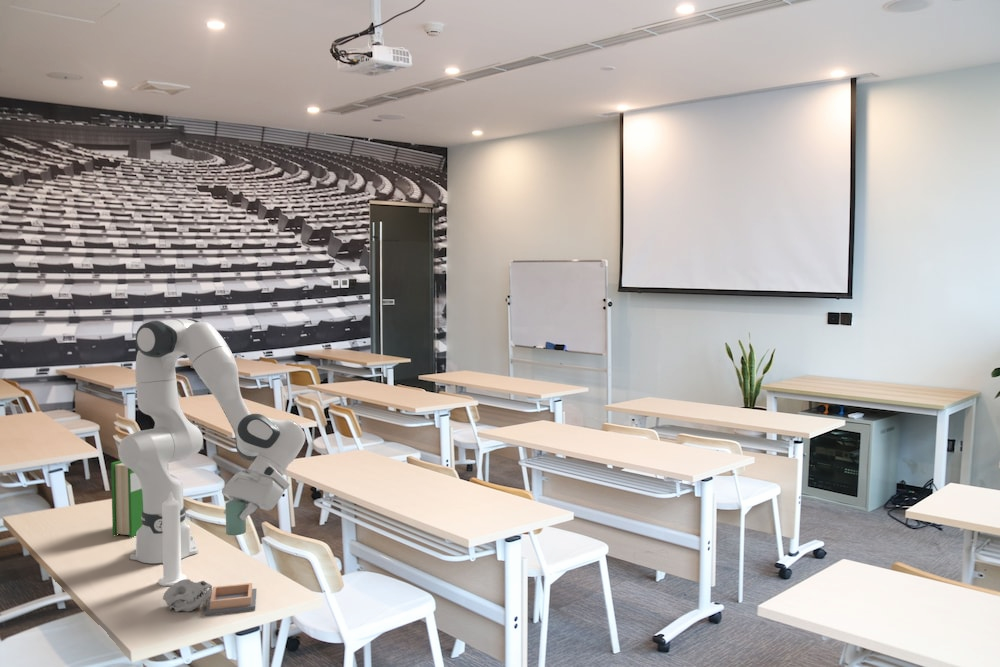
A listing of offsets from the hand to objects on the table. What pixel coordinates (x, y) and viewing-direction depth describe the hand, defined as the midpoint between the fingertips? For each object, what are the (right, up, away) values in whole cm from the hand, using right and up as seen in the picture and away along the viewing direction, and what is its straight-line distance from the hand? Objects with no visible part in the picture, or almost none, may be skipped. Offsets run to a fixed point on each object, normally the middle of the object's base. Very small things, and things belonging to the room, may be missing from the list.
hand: (233, 516), depth 198 cm
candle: (-19, -19, +6) cm, 28 cm away
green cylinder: (0, -4, +1) cm, 4 cm away
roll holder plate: (+3, -20, -8) cm, 22 cm away
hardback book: (-49, -17, +51) cm, 73 cm away
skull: (-8, -20, -11) cm, 25 cm away
